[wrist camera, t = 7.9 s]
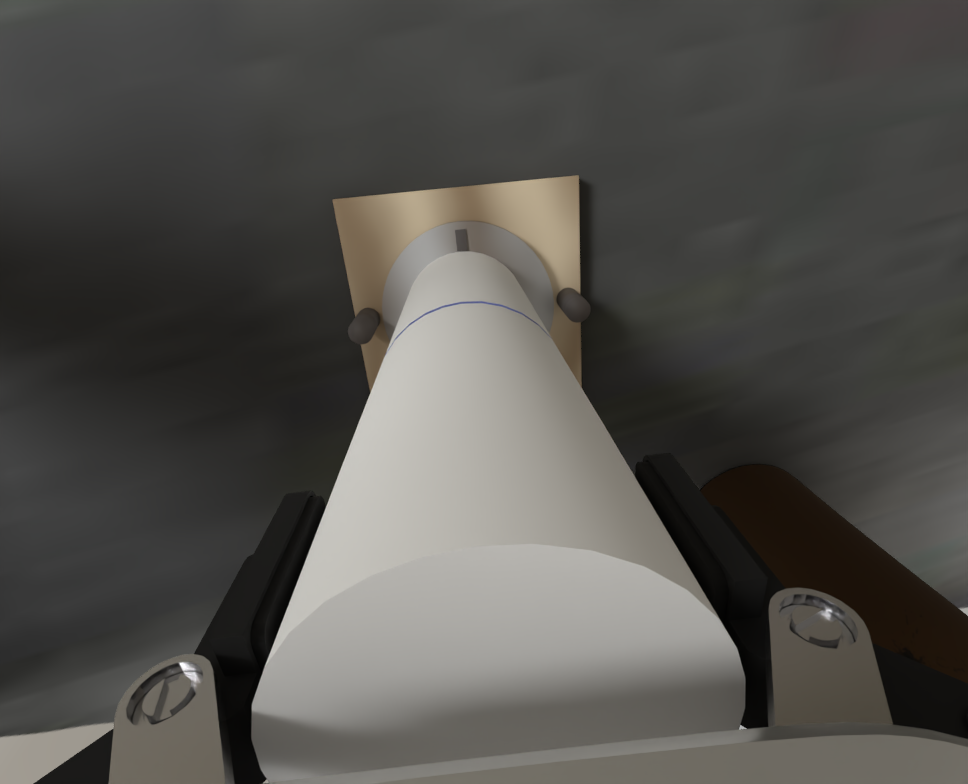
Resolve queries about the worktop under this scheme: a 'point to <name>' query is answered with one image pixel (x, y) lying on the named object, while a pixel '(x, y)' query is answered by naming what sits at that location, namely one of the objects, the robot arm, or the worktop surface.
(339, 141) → the worktop surface
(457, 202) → the locking base
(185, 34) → the worktop surface
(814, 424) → the worktop surface
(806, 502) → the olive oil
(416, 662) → the cylindrical container
